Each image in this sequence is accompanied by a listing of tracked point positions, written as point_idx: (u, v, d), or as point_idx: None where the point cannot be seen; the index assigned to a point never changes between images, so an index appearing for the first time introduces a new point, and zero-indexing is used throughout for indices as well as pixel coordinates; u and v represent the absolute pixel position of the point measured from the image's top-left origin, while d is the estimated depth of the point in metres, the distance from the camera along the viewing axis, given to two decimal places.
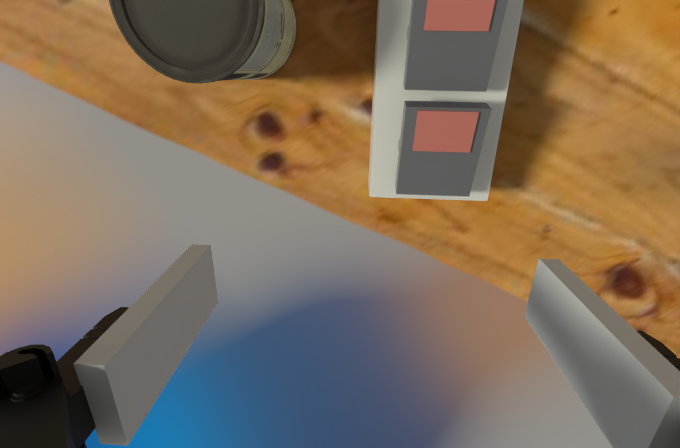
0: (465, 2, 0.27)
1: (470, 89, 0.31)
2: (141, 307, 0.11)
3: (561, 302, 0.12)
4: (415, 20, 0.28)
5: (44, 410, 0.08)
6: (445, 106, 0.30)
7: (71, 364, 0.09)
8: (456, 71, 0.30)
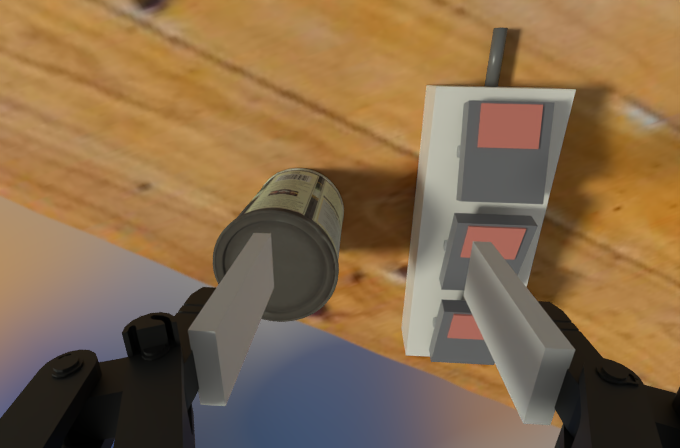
0: (496, 242, 0.33)
1: None
2: (228, 285, 0.12)
3: (485, 278, 0.14)
4: (454, 250, 0.34)
5: (166, 372, 0.09)
6: None
7: None
8: None
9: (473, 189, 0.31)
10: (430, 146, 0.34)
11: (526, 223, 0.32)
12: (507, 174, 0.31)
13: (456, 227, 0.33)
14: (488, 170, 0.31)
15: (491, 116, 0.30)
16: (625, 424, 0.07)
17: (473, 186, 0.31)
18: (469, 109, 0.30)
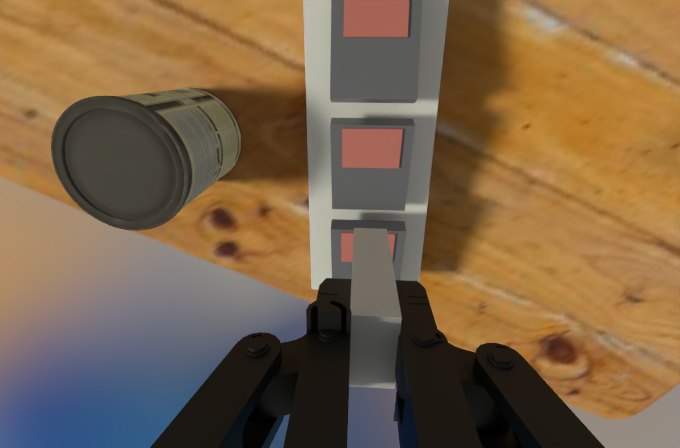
0: (375, 147, 0.31)
1: (390, 209, 0.35)
2: (361, 275, 0.13)
3: None
4: (334, 159, 0.32)
5: (336, 356, 0.09)
6: (366, 227, 0.34)
7: None
8: (375, 196, 0.34)
9: (342, 85, 0.29)
10: (305, 47, 0.32)
11: (404, 124, 0.30)
12: (377, 67, 0.29)
13: (330, 130, 0.30)
14: (356, 63, 0.29)
15: (355, 1, 0.28)
16: (437, 381, 0.08)
17: (342, 81, 0.29)
18: None
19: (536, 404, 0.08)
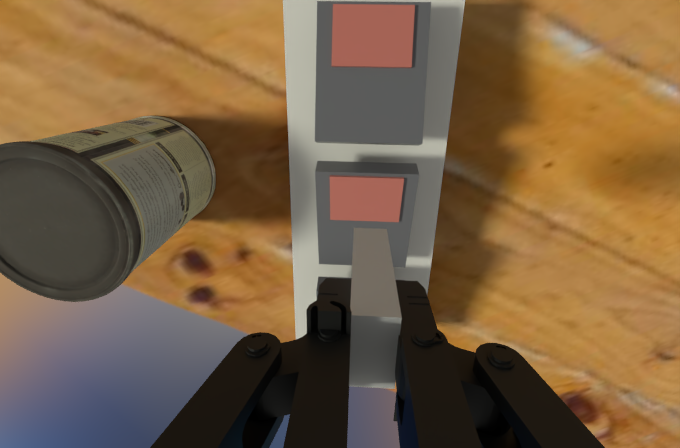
0: (370, 198, 0.25)
1: None
2: (361, 275, 0.13)
3: None
4: (320, 210, 0.26)
5: (337, 356, 0.09)
6: None
7: None
8: None
9: (330, 125, 0.24)
10: (287, 74, 0.26)
11: (406, 171, 0.25)
12: (373, 103, 0.23)
13: (315, 178, 0.25)
14: (348, 98, 0.23)
15: (346, 22, 0.22)
16: (437, 381, 0.08)
17: (329, 120, 0.24)
18: (318, 13, 0.23)
19: (536, 404, 0.08)
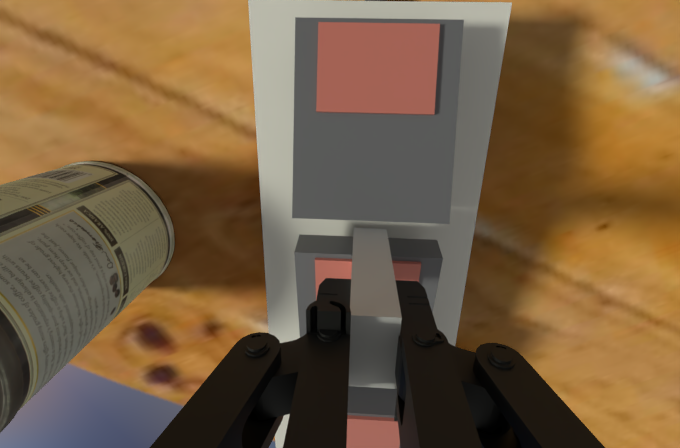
0: None
1: None
2: (361, 275, 0.13)
3: None
4: (303, 303, 0.19)
5: (336, 356, 0.09)
6: (356, 406, 0.21)
7: None
8: None
9: (314, 195, 0.16)
10: (257, 117, 0.19)
11: (424, 254, 0.17)
12: (377, 165, 0.16)
13: None
14: (340, 157, 0.16)
15: (338, 49, 0.15)
16: (437, 381, 0.08)
17: (313, 189, 0.16)
18: (296, 36, 0.15)
19: (536, 404, 0.08)
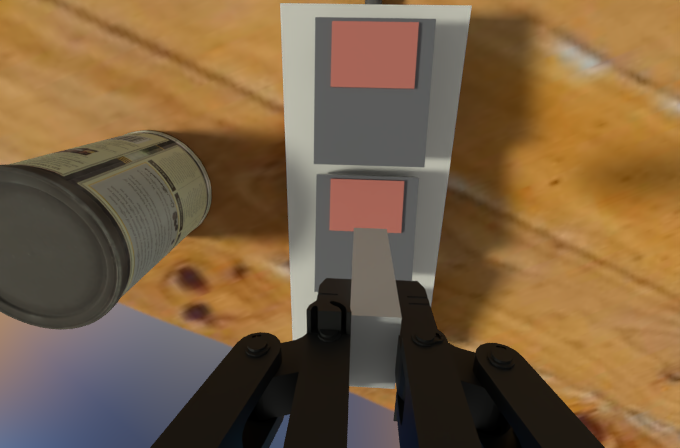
0: (371, 204, 0.25)
1: None
2: (361, 275, 0.13)
3: None
4: (319, 220, 0.26)
5: (337, 356, 0.09)
6: None
7: None
8: None
9: (329, 147, 0.23)
10: (284, 91, 0.25)
11: (405, 177, 0.25)
12: (374, 125, 0.22)
13: (316, 182, 0.25)
14: (348, 120, 0.22)
15: (346, 40, 0.21)
16: (437, 381, 0.08)
17: (328, 143, 0.23)
18: (316, 31, 0.21)
19: (536, 404, 0.08)
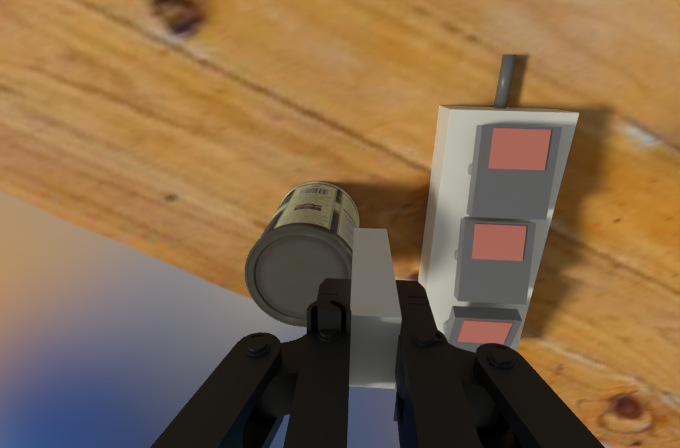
0: (502, 241, 0.36)
1: (513, 302, 0.38)
2: (361, 275, 0.13)
3: None
4: (465, 252, 0.37)
5: (337, 356, 0.09)
6: (485, 316, 0.39)
7: None
8: (500, 288, 0.37)
9: (483, 206, 0.34)
10: (443, 164, 0.36)
11: (526, 222, 0.37)
12: (514, 193, 0.34)
13: (464, 225, 0.37)
14: (497, 189, 0.34)
15: (502, 140, 0.33)
16: (437, 381, 0.08)
17: (483, 203, 0.34)
18: (482, 133, 0.33)
19: (536, 404, 0.08)
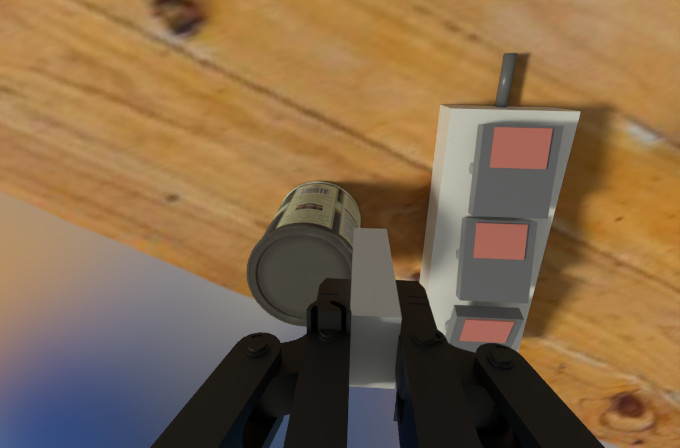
0: (504, 240, 0.36)
1: (514, 301, 0.38)
2: (361, 275, 0.13)
3: None
4: (466, 251, 0.37)
5: (336, 356, 0.09)
6: (487, 315, 0.39)
7: None
8: (501, 287, 0.37)
9: (484, 205, 0.34)
10: (445, 163, 0.36)
11: (527, 221, 0.37)
12: (516, 191, 0.34)
13: (466, 224, 0.37)
14: (499, 188, 0.34)
15: (503, 139, 0.33)
16: (436, 381, 0.08)
17: (484, 202, 0.34)
18: (483, 132, 0.33)
19: (536, 404, 0.08)
